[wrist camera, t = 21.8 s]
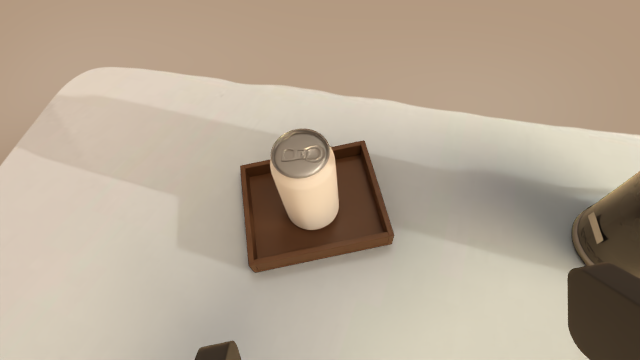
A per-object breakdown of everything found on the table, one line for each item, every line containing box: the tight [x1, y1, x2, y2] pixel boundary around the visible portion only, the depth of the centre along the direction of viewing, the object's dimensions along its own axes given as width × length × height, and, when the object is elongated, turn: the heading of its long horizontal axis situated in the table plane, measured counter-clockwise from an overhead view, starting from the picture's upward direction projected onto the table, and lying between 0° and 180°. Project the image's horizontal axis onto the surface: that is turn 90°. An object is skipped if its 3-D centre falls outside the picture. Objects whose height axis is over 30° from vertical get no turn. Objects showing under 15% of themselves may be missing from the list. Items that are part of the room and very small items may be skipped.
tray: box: [240, 141, 394, 273], centre depth 43 cm, size 16×13×3 cm
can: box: [270, 129, 339, 230], centre depth 38 cm, size 6×6×12 cm
